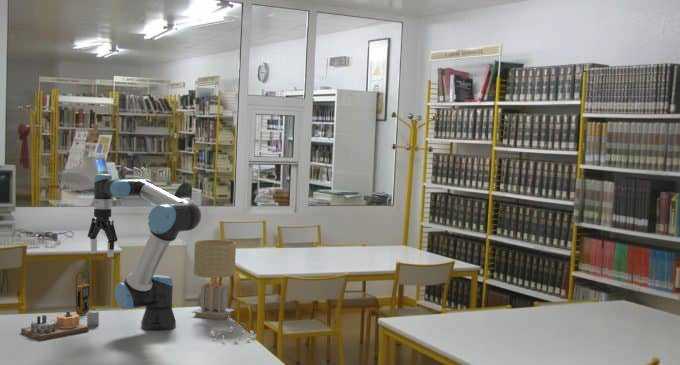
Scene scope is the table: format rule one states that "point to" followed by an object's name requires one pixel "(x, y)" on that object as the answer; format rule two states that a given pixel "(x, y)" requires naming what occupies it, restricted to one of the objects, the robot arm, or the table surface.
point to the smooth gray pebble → (92, 318)
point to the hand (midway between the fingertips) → (102, 255)
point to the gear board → (51, 329)
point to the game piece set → (233, 339)
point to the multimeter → (83, 296)
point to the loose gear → (68, 320)
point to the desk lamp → (214, 275)
